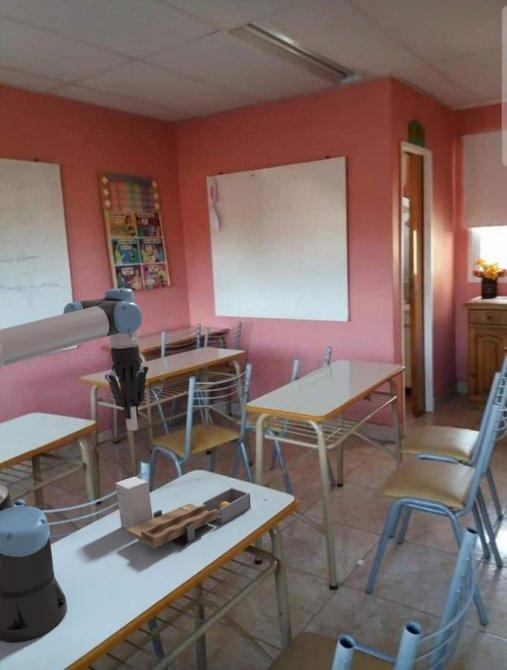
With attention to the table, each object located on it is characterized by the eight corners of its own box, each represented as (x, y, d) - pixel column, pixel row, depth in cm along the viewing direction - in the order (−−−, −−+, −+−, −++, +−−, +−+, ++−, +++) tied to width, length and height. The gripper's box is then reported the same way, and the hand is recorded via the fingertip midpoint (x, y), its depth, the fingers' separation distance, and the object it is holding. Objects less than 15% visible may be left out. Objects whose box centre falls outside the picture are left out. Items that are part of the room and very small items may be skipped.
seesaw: (155, 547, 139) (154, 538, 138) (126, 533, 147) (126, 524, 146) (218, 518, 155) (217, 509, 155) (189, 506, 163) (189, 498, 163)
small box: (154, 526, 155) (148, 481, 154) (134, 534, 151) (127, 488, 150) (140, 518, 161) (134, 475, 160) (120, 526, 157) (114, 482, 156)
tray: (222, 524, 155) (221, 509, 154) (204, 516, 160) (203, 502, 159) (250, 507, 164) (249, 493, 163) (232, 501, 169) (231, 487, 168)
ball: (233, 502, 161) (231, 514, 161) (225, 500, 163) (223, 511, 163) (226, 503, 159) (224, 514, 158) (218, 500, 161) (216, 511, 161)
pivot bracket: (184, 547, 144) (183, 531, 143) (148, 530, 154) (147, 515, 153) (201, 537, 148) (200, 522, 148) (165, 521, 158) (164, 507, 158)
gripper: (111, 351, 142) (120, 438, 146) (152, 342, 152) (159, 424, 156) (95, 348, 147) (104, 433, 151) (136, 340, 157) (143, 420, 161)
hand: (132, 429), depth 153 cm, fingers closed
